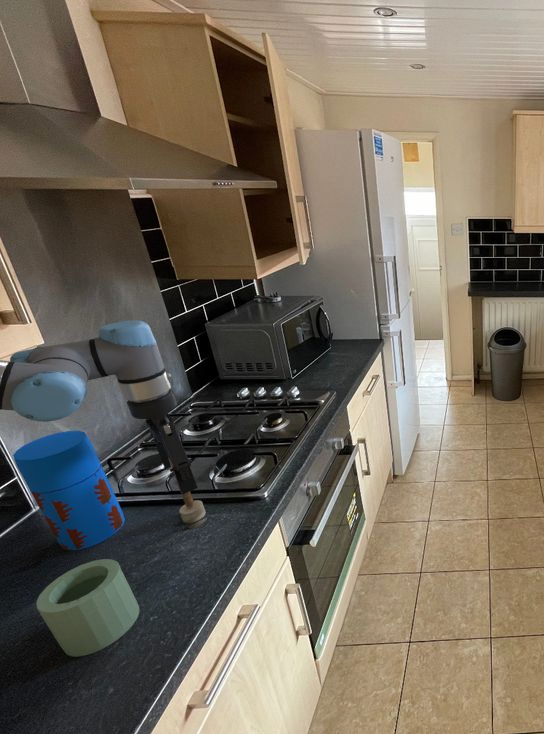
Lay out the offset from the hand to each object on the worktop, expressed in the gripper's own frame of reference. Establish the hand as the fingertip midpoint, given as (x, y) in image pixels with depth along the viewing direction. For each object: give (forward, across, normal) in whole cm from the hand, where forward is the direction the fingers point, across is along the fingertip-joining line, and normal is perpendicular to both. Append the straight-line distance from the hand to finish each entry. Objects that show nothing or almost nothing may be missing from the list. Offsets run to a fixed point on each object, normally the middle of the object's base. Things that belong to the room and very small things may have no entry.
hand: (180, 477), depth 94 cm
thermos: (+13, +12, +16) cm, 24 cm away
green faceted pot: (+13, -17, +19) cm, 29 cm away
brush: (+13, 0, 0) cm, 13 cm away
